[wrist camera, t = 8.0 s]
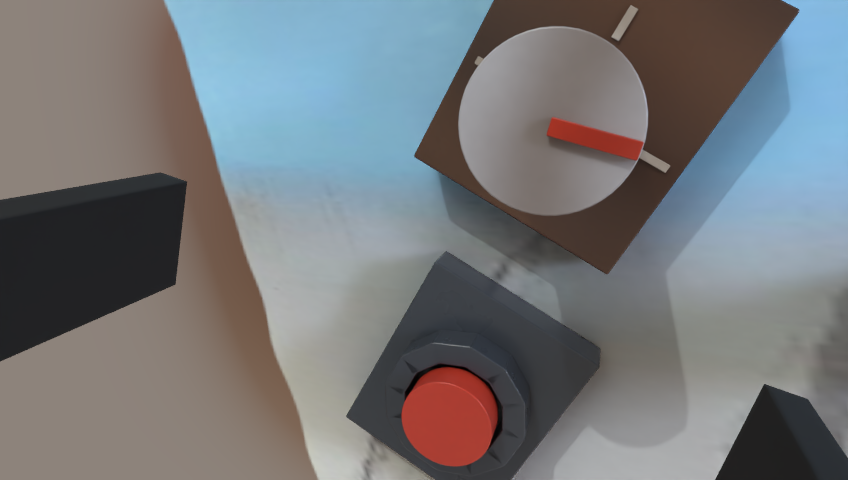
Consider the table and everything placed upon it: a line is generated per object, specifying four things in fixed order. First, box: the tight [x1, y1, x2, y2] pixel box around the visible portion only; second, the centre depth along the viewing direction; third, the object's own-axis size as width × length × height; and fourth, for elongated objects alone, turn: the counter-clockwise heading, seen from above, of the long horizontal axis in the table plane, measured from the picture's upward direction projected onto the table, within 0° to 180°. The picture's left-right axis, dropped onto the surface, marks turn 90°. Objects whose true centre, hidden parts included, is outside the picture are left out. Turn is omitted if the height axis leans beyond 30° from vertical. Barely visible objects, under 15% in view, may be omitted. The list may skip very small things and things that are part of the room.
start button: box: [402, 367, 498, 466], centre depth 29 cm, size 5×5×2 cm
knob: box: [458, 26, 648, 216], centre depth 21 cm, size 6×6×9 cm
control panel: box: [414, 0, 799, 274], centre depth 26 cm, size 13×11×3 cm
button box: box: [346, 251, 600, 480], centre depth 32 cm, size 12×10×4 cm
